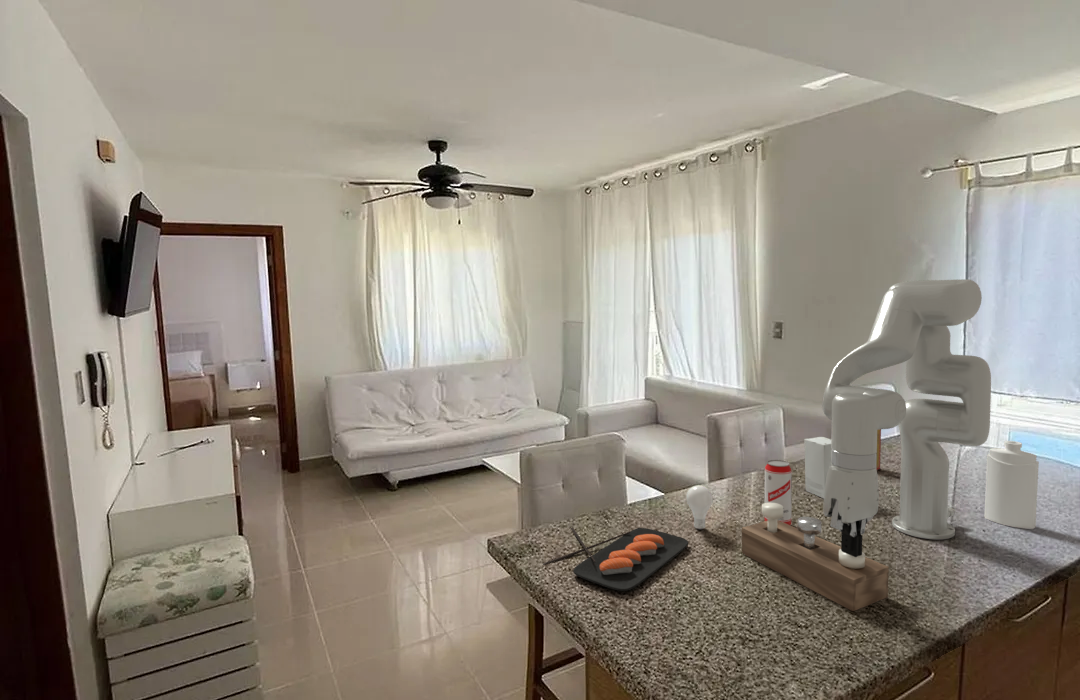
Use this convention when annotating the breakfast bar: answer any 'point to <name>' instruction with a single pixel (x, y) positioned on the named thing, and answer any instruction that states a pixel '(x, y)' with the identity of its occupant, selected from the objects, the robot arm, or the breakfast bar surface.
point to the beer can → (779, 487)
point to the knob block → (815, 565)
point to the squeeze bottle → (1011, 486)
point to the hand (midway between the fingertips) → (851, 553)
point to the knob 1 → (772, 515)
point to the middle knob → (809, 530)
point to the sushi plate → (627, 558)
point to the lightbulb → (699, 504)
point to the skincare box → (817, 464)
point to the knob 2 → (851, 560)
